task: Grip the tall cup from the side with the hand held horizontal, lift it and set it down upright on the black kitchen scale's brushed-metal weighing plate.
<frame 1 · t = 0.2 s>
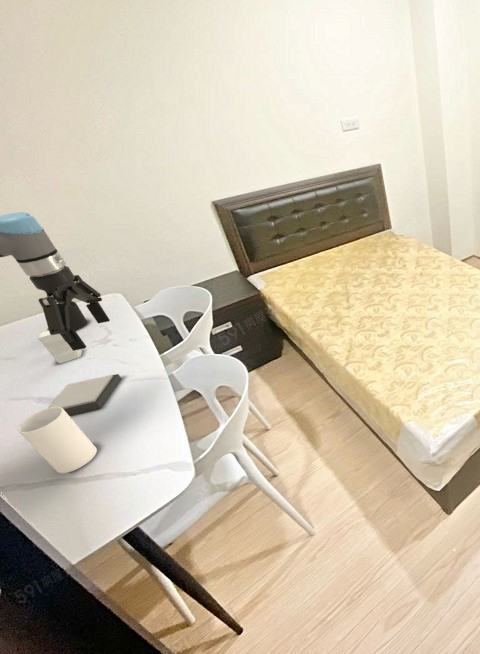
hand: (92, 334, 115), 25 cm above the table, tool pointing down, fingers open, 13 cm apart
pen holder: (74, 327, 163), on the table
cup: (77, 460, 108), on the table
cosmetic box: (70, 358, 146), on the table
scale: (85, 399, 127), on the table
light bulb: (69, 345, 153), on the table
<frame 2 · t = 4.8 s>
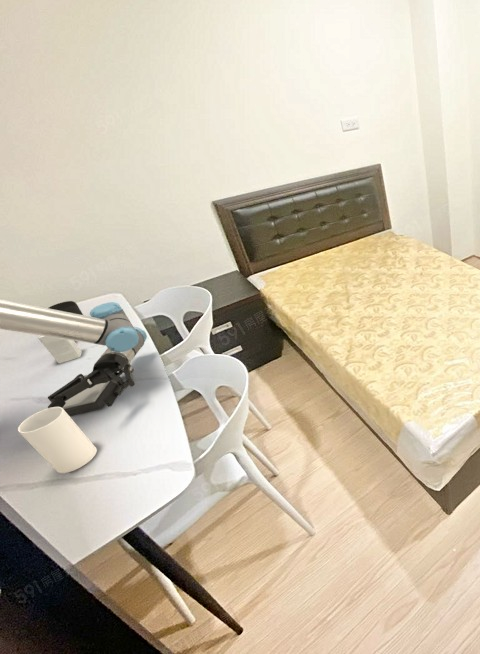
hand: (77, 410, 111), 9 cm above the table, tool horizontal, fingers open, 13 cm apart
nothing on the table moved.
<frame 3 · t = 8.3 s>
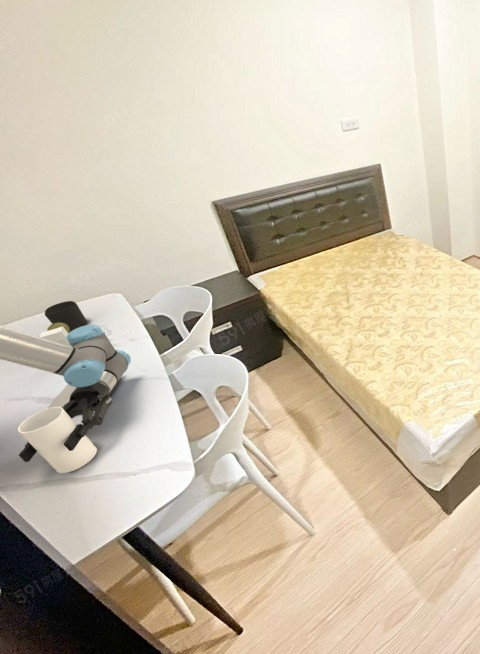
hand: (46, 452, 99), 9 cm above the table, tool horizontal, fingers closed on cup, 8 cm apart
cup: (77, 460, 108), on the table, touching gripper
everything else where it was.
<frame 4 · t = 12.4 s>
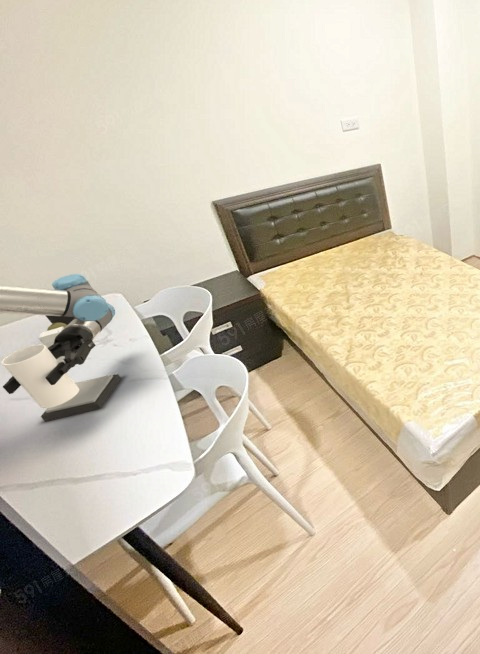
hand: (29, 385, 105), 20 cm above the table, tool horizontal, fingers closed on cup, 8 cm apart
cup: (60, 397, 113), point 11 cm above the table, touching gripper
everything else where it was.
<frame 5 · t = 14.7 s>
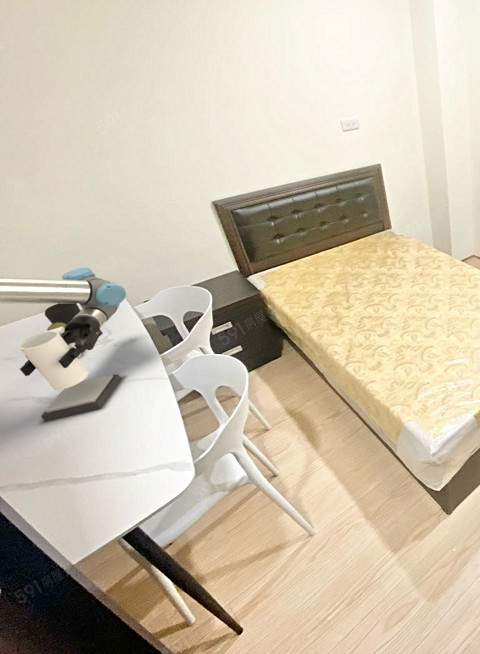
hand: (43, 368, 115), 17 cm above the table, tool horizontal, fingers closed on cup, 8 cm apart
cup: (71, 380, 123), point 8 cm above the table, touching gripper
everything else where it was.
when the fingers open (12 cm above the table, at t = 16.6 s): cup stays where it is, resting on scale.
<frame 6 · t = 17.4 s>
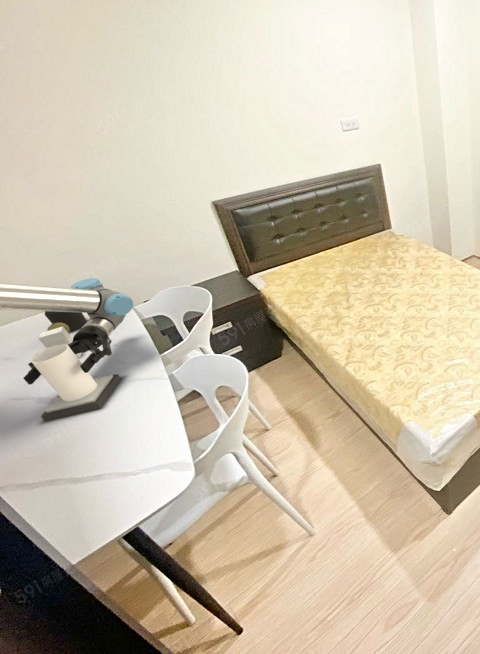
hand: (56, 375, 118), 13 cm above the table, tool horizontal, fingers open, 13 cm apart
cup: (80, 392, 126), point 3 cm above the table, touching scale
everything else where it was.
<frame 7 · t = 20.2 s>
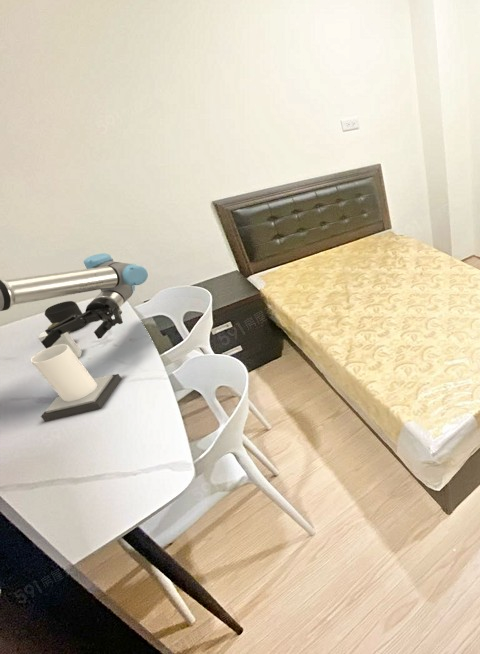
hand: (71, 340, 126), 17 cm above the table, tool horizontal, fingers open, 13 cm apart
nothing on the table moved.
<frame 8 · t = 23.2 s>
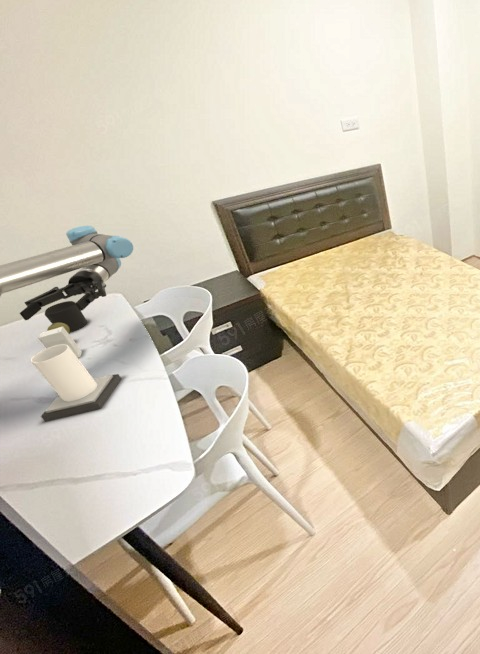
hand: (51, 311, 121), 28 cm above the table, tool horizontal, fingers open, 13 cm apart
nothing on the table moved.
at the end: cup inside the target area on the scale (0.1 cm from its centre), point 3.0 cm above the scale's base; cup tilted 0°; the gripper is holding nothing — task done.
